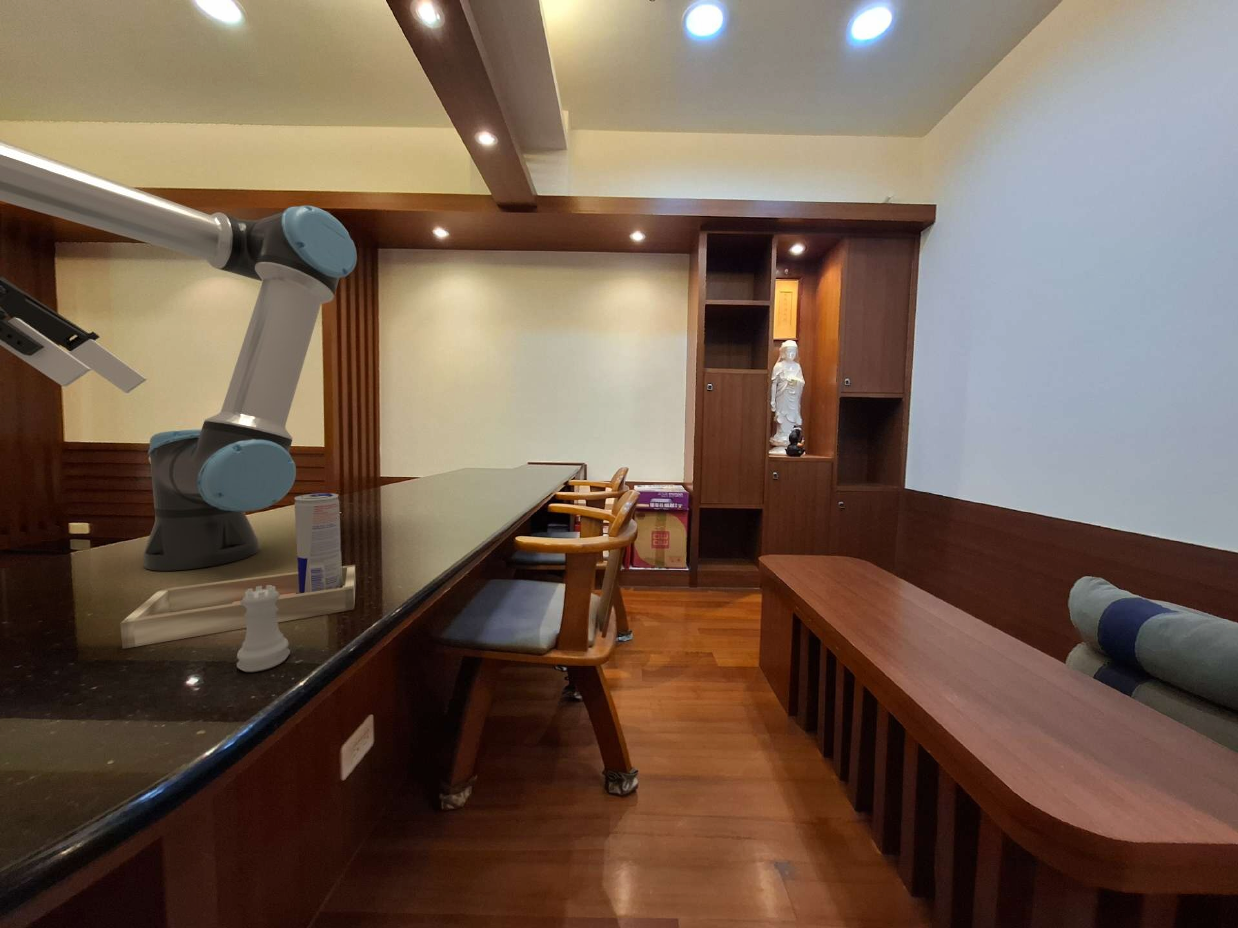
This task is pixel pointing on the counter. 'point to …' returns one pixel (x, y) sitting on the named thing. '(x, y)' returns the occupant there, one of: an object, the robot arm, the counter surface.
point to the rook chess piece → (262, 632)
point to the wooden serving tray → (227, 607)
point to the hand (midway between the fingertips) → (110, 382)
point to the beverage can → (318, 542)
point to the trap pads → (280, 595)
